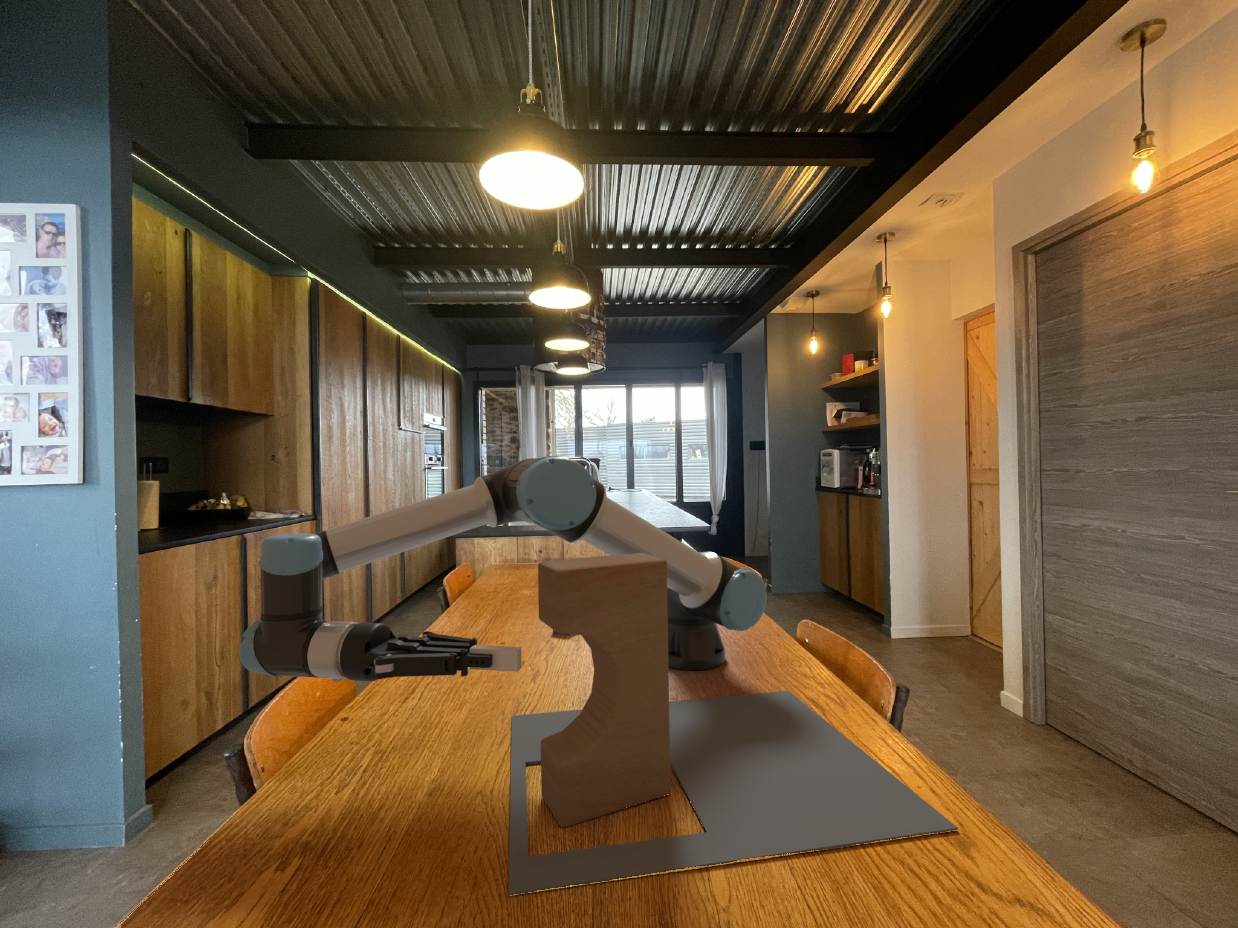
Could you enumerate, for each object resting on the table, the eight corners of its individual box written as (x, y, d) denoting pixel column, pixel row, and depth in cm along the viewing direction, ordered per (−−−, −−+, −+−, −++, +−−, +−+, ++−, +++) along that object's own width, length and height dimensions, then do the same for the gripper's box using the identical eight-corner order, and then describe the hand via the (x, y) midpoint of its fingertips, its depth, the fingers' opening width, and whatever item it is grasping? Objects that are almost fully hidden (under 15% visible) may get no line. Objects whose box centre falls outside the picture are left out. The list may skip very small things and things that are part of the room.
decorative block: (560, 829, 66) (556, 570, 66) (540, 796, 73) (536, 561, 73) (672, 795, 73) (668, 559, 73) (643, 768, 79) (640, 552, 80)
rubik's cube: (564, 628, 151) (563, 609, 151) (579, 630, 148) (579, 611, 148) (552, 633, 146) (552, 614, 146) (568, 635, 144) (568, 616, 144)
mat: (788, 692, 105) (788, 690, 105) (958, 831, 65) (957, 827, 65) (511, 717, 96) (511, 715, 96) (508, 896, 56) (508, 892, 56)
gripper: (382, 662, 85) (535, 670, 80) (322, 696, 72) (500, 708, 68) (382, 611, 85) (535, 617, 80) (321, 636, 72) (500, 645, 68)
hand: (519, 659), depth 74 cm, fingers closed
